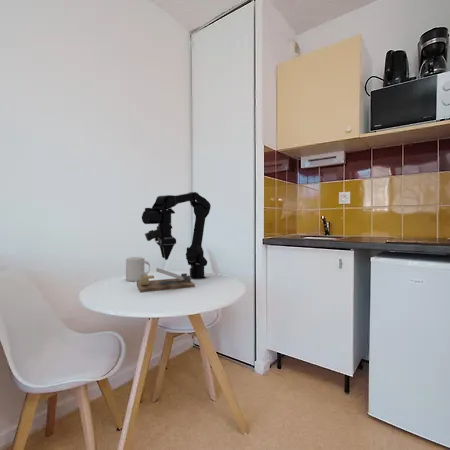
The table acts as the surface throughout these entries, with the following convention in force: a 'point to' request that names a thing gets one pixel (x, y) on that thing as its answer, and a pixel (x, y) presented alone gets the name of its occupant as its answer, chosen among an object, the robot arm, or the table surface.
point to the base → (166, 284)
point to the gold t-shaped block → (145, 279)
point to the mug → (135, 268)
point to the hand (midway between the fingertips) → (164, 258)
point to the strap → (170, 274)
